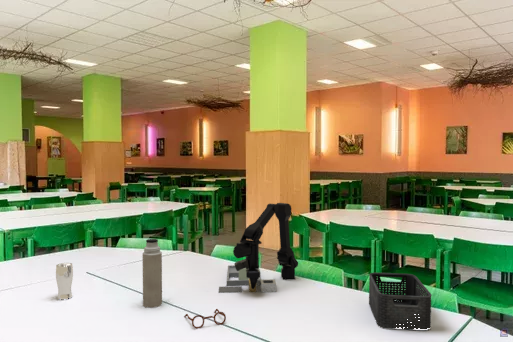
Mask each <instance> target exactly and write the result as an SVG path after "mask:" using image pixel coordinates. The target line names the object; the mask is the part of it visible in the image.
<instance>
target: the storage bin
mask: <svg viewBox="0 0 513 342" xmlns="http://www.w3.org/2000/svg"><path fill="white" fill-rule="evenodd" d="M368 276H369V279H368V285H369V286H368V289H369V290H368V305H369V308H370V310H371V313H372V315H373V318H374V320H376V321H375V322H376V325H377V326H378V327H379V326H380V327H379V328H381V327H383V328H382V329H384V328H396V327H397V328H399V327H401V328H402V329H403V327H405V328H404V329H414V328H416V329H418V328H420V329H427V328H430V327H431V328H432V326H431V325H432V319H431V318H432V293H431V292H430V291H429V290H428V289H427V287H426V286H425V285H424V284H423V283H422V282H421V280H420V279H419V277H417V276H416V275H414V274H412V273H397V272H396V273H394V272H393V273H391V272H370V273H369V275H368ZM381 277H382V278H401V280H400V281H388V280H387V281H384V280H382V279H381ZM414 314H416V315H414ZM418 314H419V315H418ZM415 317H416V318H415ZM418 317H420V318H418ZM407 319H408V320H407ZM418 320H420V321H418ZM407 322H408V323H407ZM410 322H412V323H410ZM396 324H397V325H396ZM399 324H401V325H399ZM403 324H404V325H403ZM411 325H412V326H411ZM414 325H415V326H414ZM407 327H408V328H407Z"/></svg>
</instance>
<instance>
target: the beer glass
mask: <svg viewBox="0 0 513 342" xmlns="http://www.w3.org/2000/svg"><path fill="white" fill-rule="evenodd" d="M73 267H74V266H73V263H72V262H62V263H59V264H56V268H55V279H56V284H57V298H58V299H67V300H69V299H68V298H70V299H71V297H72V298H73V292H72V286H73V280H74V279H73V278H74V269H73ZM57 298H56V299H57ZM58 299H57V300H58Z"/></svg>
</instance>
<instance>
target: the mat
mask: <svg viewBox="0 0 513 342" xmlns="http://www.w3.org/2000/svg"><path fill="white" fill-rule="evenodd" d="M217 292H218V293H220V294H222V293H227V294H228V293H229V294H230V293H243V286H218V291H217Z"/></svg>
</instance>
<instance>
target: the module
mask: <svg viewBox="0 0 513 342" xmlns="http://www.w3.org/2000/svg"><path fill="white" fill-rule="evenodd" d="M246 270H247V269H246V268H244V269H241V270H239V277H238V280H249V278H247V277H246Z"/></svg>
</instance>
